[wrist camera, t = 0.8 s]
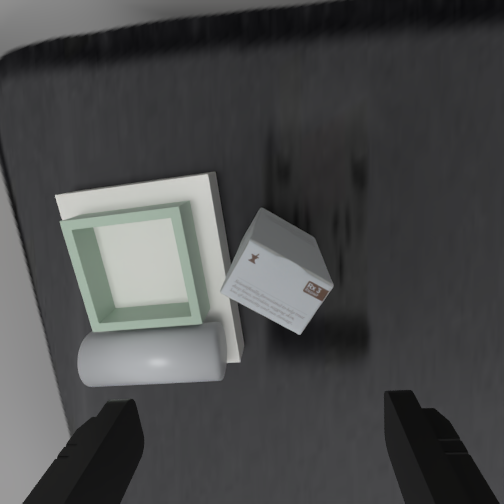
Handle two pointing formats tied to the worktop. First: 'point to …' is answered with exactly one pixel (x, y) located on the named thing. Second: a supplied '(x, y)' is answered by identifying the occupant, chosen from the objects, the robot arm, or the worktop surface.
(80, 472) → the robot arm
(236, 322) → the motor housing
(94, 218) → the green piece
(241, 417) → the worktop surface
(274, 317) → the skincare box
